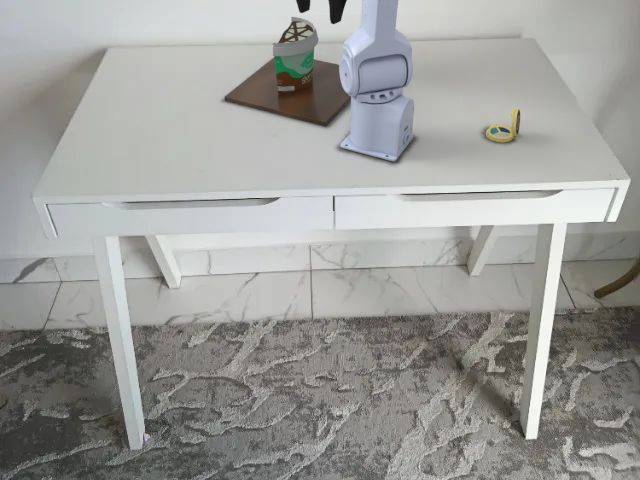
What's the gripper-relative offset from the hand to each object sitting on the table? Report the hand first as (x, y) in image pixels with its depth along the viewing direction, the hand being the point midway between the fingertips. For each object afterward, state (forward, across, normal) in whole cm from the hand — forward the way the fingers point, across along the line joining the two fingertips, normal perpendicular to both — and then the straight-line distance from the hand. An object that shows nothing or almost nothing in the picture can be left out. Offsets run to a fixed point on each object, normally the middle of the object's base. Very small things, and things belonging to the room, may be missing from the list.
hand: (319, 16), depth 118 cm
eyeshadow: (+11, +38, +2) cm, 39 cm away
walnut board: (+10, +2, -8) cm, 13 cm away
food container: (+10, +2, -8) cm, 13 cm away
